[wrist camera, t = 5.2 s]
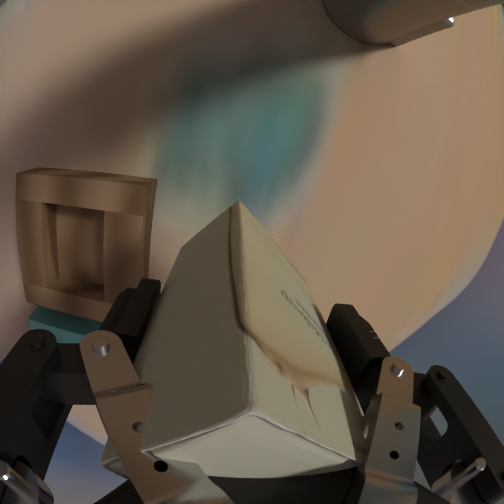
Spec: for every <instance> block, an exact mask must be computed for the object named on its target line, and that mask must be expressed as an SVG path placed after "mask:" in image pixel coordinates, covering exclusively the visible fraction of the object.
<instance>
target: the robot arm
mask: <svg viewBox="0 0 504 504" xmlns="http://www.w3.org/2000/svg"><path fill="white" fill-rule="evenodd" d="M323 1H324V5H325V8H326V10H327V12H328V14H329V16H330V17H331V18H332V20H333V21H334V22H335V23H336V24H337V25H338V26H339V27H340V28H341V29H342V30H343V31H345V32H346V33H347V34H349V35H350V36H352V37H354V38H355V39H358V40H360V41H362V42H365V43H369V44H377V45H381V44H387V43H390V44H393V45H395V46H400V45H402V44H405V43H407V42H410V41H412V40H415V39H418V38H420V37H423V36H426V35H429V34H432V33H435V32H438V31H441V30H444V29H447V28H450V27H452V26H453V25H454V17H456V16H459V15H462V14H465V13H468V12H472V11H475V10H479V9H482V8H486V7H490V6H494V5H498V4H502V3H504V0H323ZM160 292H161V282H160V280H154V279H148V278H142V279H141V281H140V283H139V284H138V286H137V288H136V289H133V288H127V289H125V290H124V291H122V292H121V293H119V295H118V297H117V298H116V300H115V303H113V305H112V307H111V309H110V310H109V312H108V314H107V315H106V317H105V319H104V321H103V322H102V324H101V326H100V328H99V330H97V331H93V332H90V333H88V334H86V335H85V336H84V337H83V338H82V339H81V341H80V343H57V340H56V337H55V336H54V334H53V333H52V332H50V331H48V330H45V329H34V330H30V331H28V332H26V333H25V334H24V335H23V336H22V337H21V338H20V339H19V341H18V342H17V343H16V344H15V346H14V347H13V348H12V350H11V351H10V352H9V354H8V355H7V356H6V358H5V359H4V360H3V362H2V363H1V365H0V504H54V498H53V494H52V492H51V490H50V488H49V487H48V485H47V484H46V483H45V482H44V478H45V475H46V472H47V469H48V466H49V463H50V461H51V458H52V455H53V452H54V449H55V447H56V444H57V442H58V439H59V437H60V434H61V432H62V429H63V427H64V424H65V422H66V419H67V417H68V415H69V412H70V410H71V408H72V406H73V405H96V407H97V410H98V412H99V415H100V418H101V420H102V423H103V425H104V428H105V430H106V433H107V435H108V437H109V438H110V440H111V441H112V443H113V446H114V448H115V450H116V452H117V454H118V457H119V459H120V461H121V463H122V465H123V467H124V469H125V471H126V473H127V475H128V477H129V479H128V480H127V481H126V482H124V483H123V484H121V485H120V486H118V487H117V488H116V489H114V490H113V491H111V492H110V493H109V494H107V495H106V496H104V497H103V498H101V499H100V500H98V501H97V502H95V503H94V504H495V503H496V502H497V501H499V500H500V499H502V498H503V497H504V447H503V445H502V443H501V442H500V440H499V439H498V437H497V436H496V434H495V433H494V431H493V430H492V428H491V427H490V425H489V424H488V422H487V421H486V419H485V418H484V416H483V415H482V413H481V412H480V411H479V409H478V408H477V406H476V405H475V403H474V402H473V401H472V400H471V398H470V397H469V395H468V394H467V393H466V391H465V390H464V388H463V387H462V386H461V385H460V383H459V382H458V380H457V379H456V378H455V377H454V375H453V374H452V373H451V372H450V371H449V370H448V369H446V368H445V367H443V366H439V365H434V366H431V367H430V369H429V370H428V372H427V373H426V374H420V373H414V372H413V369H412V367H411V366H410V365H409V364H408V363H407V362H406V361H405V360H403V359H401V358H398V357H394V356H391V355H390V354H389V352H388V351H387V349H386V348H385V346H384V345H383V343H382V342H381V340H380V339H379V338H378V336H377V334H376V333H375V332H374V330H373V328H372V327H371V325H370V324H369V323H368V322H367V321H366V320H365V319H363V318H362V317H361V316H360V315H359V314H358V312H357V311H356V309H355V308H354V307H353V305H348V304H335V305H334V306H333V308H332V310H331V313H330V315H329V318H328V320H327V323H326V326H327V328H328V331H329V333H330V335H331V337H332V340H333V342H334V344H335V347H336V349H337V351H338V354H339V356H340V358H341V361H342V363H343V365H344V368H345V370H346V372H347V375H348V377H349V379H350V382H351V384H352V387H353V389H354V391H355V394H356V396H357V399H358V401H359V403H360V406H361V408H362V411H363V413H364V416H363V417H362V418H361V427H362V431H363V432H364V433H365V435H366V440H365V443H364V447H363V450H362V459H361V463H358V466H355V467H352V468H348V469H344V470H339V471H334V472H328V473H321V474H314V475H305V476H295V477H282V478H236V477H219V476H207V475H206V474H205V473H204V471H203V470H202V469H201V467H200V466H199V465H198V463H193V462H185V461H178V460H171V459H165V458H161V457H158V456H155V455H154V454H153V453H152V451H150V450H147V451H144V452H140V445H141V440H142V435H143V432H141V433H139V432H135V429H136V428H137V427H138V426H140V425H142V424H144V425H145V422H146V417H147V413H148V409H149V405H150V401H151V397H152V393H153V392H152V390H151V389H150V387H149V386H148V384H147V383H143V384H142V383H141V381H140V379H139V377H138V375H137V373H136V371H135V369H134V367H133V363H134V360H135V357H136V355H137V352H138V349H139V347H140V344H141V341H142V339H143V336H144V334H145V331H146V329H147V326H148V324H149V321H150V319H151V316H152V314H153V312H154V309H155V307H156V304H157V302H158V300H159V297H160ZM437 407H438V408H439V409H440V411H441V413H442V414H443V416H444V417H445V419H446V421H447V423H448V428H447V431H446V433H445V434H444V435H443V436H442V437H441V435H440V434H439V432H438V430H437V428H436V426H435V425H434V423H433V421H432V420H431V418H430V416H431V414H432V413H433V412H434V411H435V410H436V408H437ZM416 461H418V463H419V465H420V467H421V469H422V471H423V473H424V475H425V477H426V480H427V482H428V484H429V486H430V488H431V490H432V491H430V490H428V489H427V488H425V487H423V486H422V485H420V484H419V483H417V482H415V481H414V475H415V469H416Z"/></svg>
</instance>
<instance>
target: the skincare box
mask: <svg viewBox="0 0 504 504" xmlns="http://www.w3.org/2000/svg"><path fill="white" fill-rule="evenodd" d="M133 367H134V369H135V371H136V373H137V375H138V377H139V379H140V381H141V383H142V384H143V383H147V384H148V386H149V387H150V389H151V390H152V392H153V393H152V397H151V401H150V405H149V409H148V413H147V417H146V422H145V425H144V424H142V425H140V426H138V427H137V428H136V429H135V432H139V433H141V432H143V435H142V440H141V445H140V452H144V451H147V450H150V451H152V453H153V454H154V455H155V456H158V457H161V458H165V459H171V460H178V461H185V462H193V463H198V465H199V466H200V467H201V469H202V470H203V471H204V473H205V474H206V475H207V476H219V477H236V478H282V477H295V476H305V475H314V474H321V473H328V472H334V471H339V470H344V469H348V468H352V467H355V466H358V463H361V459H362V450H363V447H364V443H365V440H366V435H365V433H364V432H363V431H362V427H361V418H362V417H363V416H364V413H363V411H362V408H361V406H360V403H359V401H358V399H357V396H356V394H355V391H354V389H353V387H352V384H351V382H350V379H349V377H348V375H347V372H346V370H345V368H344V365H343V363H342V361H341V358H340V356H339V354H338V351H337V349H336V347H335V344H334V342H333V340H332V337H331V335H330V333H329V331H328V328H327V326H326V324H325V321H324V319H323V317H322V315H321V312H320V310H319V308H318V306H317V303H316V301H315V299H314V297H313V295H312V292H311V290H310V288H309V286H308V284H307V281H306V279H305V278H304V277H303V276H302V274H301V273H300V272H299V271H298V269H297V268H296V267H295V266H294V264H293V263H292V262H291V261H290V259H289V258H288V257H287V255H286V254H285V253H284V252H283V251H282V249H281V248H280V247H279V246H278V245H277V243H276V242H275V241H274V240H273V239H272V237H271V236H270V235H269V234H268V233H267V232H266V230H265V229H264V228H263V227H262V226H261V225H260V223H259V222H258V221H257V220H256V219H255V218H254V216H253V215H252V214H251V213H250V212H249V211H248V210H247V208H246V207H245V206H244V205H243V204H242V203H241V202H240V201H237V202H236V203H234V204H233V205H232V206H231V207H229V208H228V209H227V210H226V211H224V212H223V213H222V214H220V215H219V216H218V217H217V218H215V219H214V220H213V221H212V222H211V223H209V224H208V225H207V226H206V227H205V228H203V229H202V230H201V231H200V232H199V233H197V234H196V235H195V236H194V237H193V238H192V239H191V240H189V241H188V242H187V243H186V244H185V245H184V246H183V247H182V248H181V250H180V252H179V254H178V256H177V258H176V260H175V263H174V265H173V267H172V269H171V272H170V274H169V276H168V278H167V281H166V283H165V285H164V288H163V290H162V292H161V295H160V297H159V300H158V302H157V304H156V307H155V309H154V312H153V314H152V316H151V319H150V321H149V324H148V326H147V329H146V331H145V334H144V336H143V339H142V341H141V344H140V347H139V349H138V352H137V355H136V357H135V360H134V363H133ZM101 465H102V466H103V468H105V469H107V470H109V471H111V472H113V473H115V474H117V475H120V476H122V477H124V478H126V479H129V477H128V475H127V473H126V471H125V469H124V467H123V465H122V463H121V461H120V459H119V457H118V454H117V452H116V450H115V448H114V446H113V443H112V441H111V440H110V438H109V437H108V440H107V443H106V446H105V449H104V453H103V455H102V459H101Z"/></svg>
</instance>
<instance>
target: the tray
mask: <svg viewBox="0 0 504 504" xmlns="http://www.w3.org/2000/svg"><path fill="white" fill-rule="evenodd" d="M28 322H29V326H30V329H31V330H34V329H45V330H48V331H50V332H52V333H53V334H54V336H55V337H56V340H57V343H80V341H81V339H82V338H83V337H84V336H85V335H86V334H88V333H90V332H93V331H97V330H99V328H100V326H101V324H102V322H100V321H96V320H92V319H88V318H83V317H79V316H75V315H72V314H68V313H64V312H60V311H57V310H53V309H50V308H46V307H43V306H38V307H37V309H36V310H35V311H34V312H33V313H32V314H31V316H30V317H29V318H28Z"/></svg>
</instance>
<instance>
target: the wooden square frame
mask: <svg viewBox="0 0 504 504" xmlns="http://www.w3.org/2000/svg"><path fill="white" fill-rule="evenodd" d="M156 184H157V179H151V178H144V177H136V176H127V175H119V174H109V173H100V172H90V171H79V170H67V169H53V168H34V169H30V170H27V171H23V172H19V173H16V219H17V235H18V246H19V255H20V263H21V270H22V277H23V283H24V289H25V294H26V299H27V302H29V303H33V304H36V305H39V306H43V307H46V308H50V309H53V310H57V311H60V312H64V313H68V314H72V315H75V316H79V317H83V318H88V319H92V320H96V321H100V322H103V321H104V319H105V317H106V315H107V314H108V312H109V310H110V309H111V307H112V305H113V303H115V300H116V298H117V297H118V295H119V293H121V292H122V291H124V290H125V289H127V288H133V289H136V288H137V286H138V284H139V283H140V281H141V279H142V278H148V267H149V252H150V239H151V228H152V218H153V208H154V200H155V192H156Z"/></svg>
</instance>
